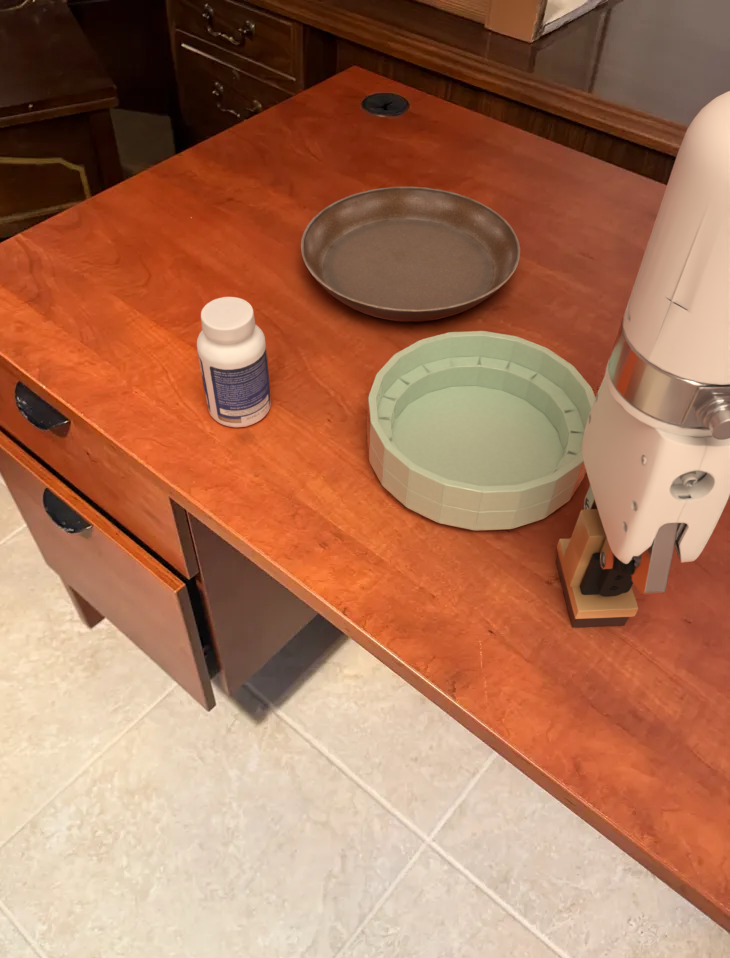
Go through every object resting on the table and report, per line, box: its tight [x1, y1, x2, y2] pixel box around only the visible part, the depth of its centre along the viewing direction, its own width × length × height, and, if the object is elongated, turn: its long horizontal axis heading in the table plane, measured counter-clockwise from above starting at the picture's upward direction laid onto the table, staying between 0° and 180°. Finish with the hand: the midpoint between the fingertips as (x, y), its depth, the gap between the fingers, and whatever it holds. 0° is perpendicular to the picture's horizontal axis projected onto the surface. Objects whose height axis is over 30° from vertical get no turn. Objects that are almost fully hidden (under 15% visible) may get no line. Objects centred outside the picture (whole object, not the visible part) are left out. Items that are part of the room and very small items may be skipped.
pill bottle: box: [196, 296, 272, 428], centre depth 66 cm, size 5×5×10 cm
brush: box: [555, 508, 639, 629], centre depth 55 cm, size 6×4×8 cm
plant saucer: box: [300, 186, 521, 322], centre depth 79 cm, size 21×21×3 cm
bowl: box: [366, 330, 596, 532], centre depth 64 cm, size 17×17×5 cm
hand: (598, 571), depth 56 cm, fingers closed on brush, 2 cm apart
